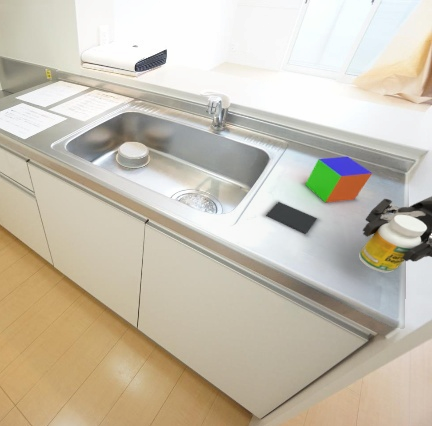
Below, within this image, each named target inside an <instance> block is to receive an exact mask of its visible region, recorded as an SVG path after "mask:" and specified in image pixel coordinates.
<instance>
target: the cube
mask: <svg viewBox="0 0 432 426" xmlns="http://www.w3.org/2000/svg"><path fill="white" fill-rule="evenodd" d="M372 175H373V172H372V171H370V170H369V169H367V168H366V167H364V166H363V165H361V164H359V163H358V162H357V161H355V160H353V159H352V158H351V157H350V156H340V157H339V156H338V157H327V158H318V159H317V161H316V163H315V165H314V167H313V169H312V171H311V173H310V175H309V177H308V178H307V181H306V183H305V184H304V185H305V186H306V187H307V188H309V189H310V190H311V191H312V192H313V194H315V195H316V196H318V197H319V198H320V199H321V200H322V201H323V202H324V203H333V202H342V201H351V200H352V201H353V200H354V201H355V200H356V199H357V197H358V195H359V194H360V192H361V190H363V188H364V186H365V185H366V183H367V182H368V181H369V180H370V178H371V177H372Z"/></svg>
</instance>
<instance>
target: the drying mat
mask: <svg viewBox="0 0 432 426" xmlns="http://www.w3.org/2000/svg"><path fill="white" fill-rule="evenodd" d="M266 217H267V218H270V219H272V220H275V221H276V222H279V223H281V224H283V225H285V226H287V227H289V228H291V229H294V230H295V231H298V232H300V233H302V234H304V235H306V234H307V233H308V232H309V230H310V229H311V228H312V226H313V225H314V224H315V222H316V221H317V220H318V218H317V217H315V216H313V215H310V214H308V213H306V212H304V211H301V210H299V209H297V208H294V207H292V206H289V205H287V204H285V203H283V202H280V201H278V202H277V203H275V205H274V206H273V207H272V208H271V209H270V210H269V211H268V212H267V213H266Z"/></svg>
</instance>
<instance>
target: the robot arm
mask: <svg viewBox="0 0 432 426" xmlns="http://www.w3.org/2000/svg"><path fill="white" fill-rule="evenodd" d="M392 203H393V200H391V199H389V198H384V199H382V200H381V201H380V202H379V203H378V204H377V205H376V206H374V207H373V208H372V209H371V211H370V212H369V213H368V215H367V216H366V218H364V219H365V221H366V222H367V223H366V224H365V226H364V228H362V232H363V233H362V235H364V236H365V237H367V238H368V237H370V236H373V235H374V234H375V232H376V231H377V230H378V229H379V227H380V226H382V225H383V224H387V223H390V221H391V220H392V219H393V218H394V217H395V216H397V215H407V216H411V217H414V218H416V219H418V220H420V221H422V222H423V223H424V224H425V225H426V226H427V230H426V231H425V232H424V233H423V234H422V235H421V236H420V238H421V243H420V245H418V246H416V247H414V248H412V249H410V250H409V251H408V252H407V253H406V254H405V255H404V256H403V257H402V259H403V260H404V262H409V261H411V262H418V261H420V260H422V259H423V258H427V257H430V258H432V195H431V196H429V197H427V198H424V199H422V200H419V201H417V202H416V203H414V204H411V205H410V206H402V207H398V206H395V205H393V204H392Z"/></svg>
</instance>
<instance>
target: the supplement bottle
mask: <svg viewBox="0 0 432 426" xmlns="http://www.w3.org/2000/svg"><path fill="white" fill-rule="evenodd" d="M426 230H427V226H426V225H425V224H424V223H423V222H422V221H420V220H418V219H416V218H414V217H411V216H407V215H397V216H395V217H394V218H393V219H392V220H391V221H390V223H387V224H383V225H382V226H380V227H379V229H378V230H377V231H376V232H375V234H372V235H371V237H370V239H369V240H368V241H367V242H366V243H365V245H364V246H363V247H362V248H361V250H360V251H359V253H358V256H359V260H360V261H361V262H362V263H363V264H364V265H365V266H367V267H368V268H369V269H371V270H374V271H376V272H380V273H392V272H395V270H396V269H398V267H399V266H401V264H402V263H404V262H405V260H403V259H402V257H403V256H404V255H405V254H406V253H407V252H408V251H409V250H410V249H412V248H414V247H416V246H418V245H420V243H421V238H420V236H421V235H422V234H423V233H424V232H425V231H426Z"/></svg>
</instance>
